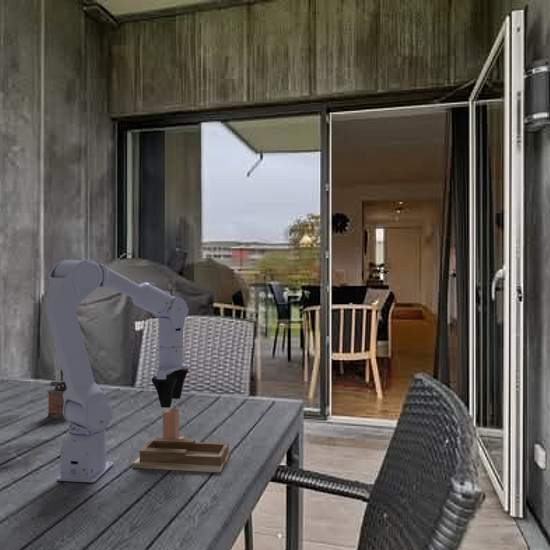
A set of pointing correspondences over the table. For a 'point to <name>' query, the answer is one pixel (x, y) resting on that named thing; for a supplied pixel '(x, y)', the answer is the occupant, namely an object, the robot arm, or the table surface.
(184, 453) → the keyhole board
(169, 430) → the key peg
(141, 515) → the table surface
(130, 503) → the table surface
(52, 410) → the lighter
